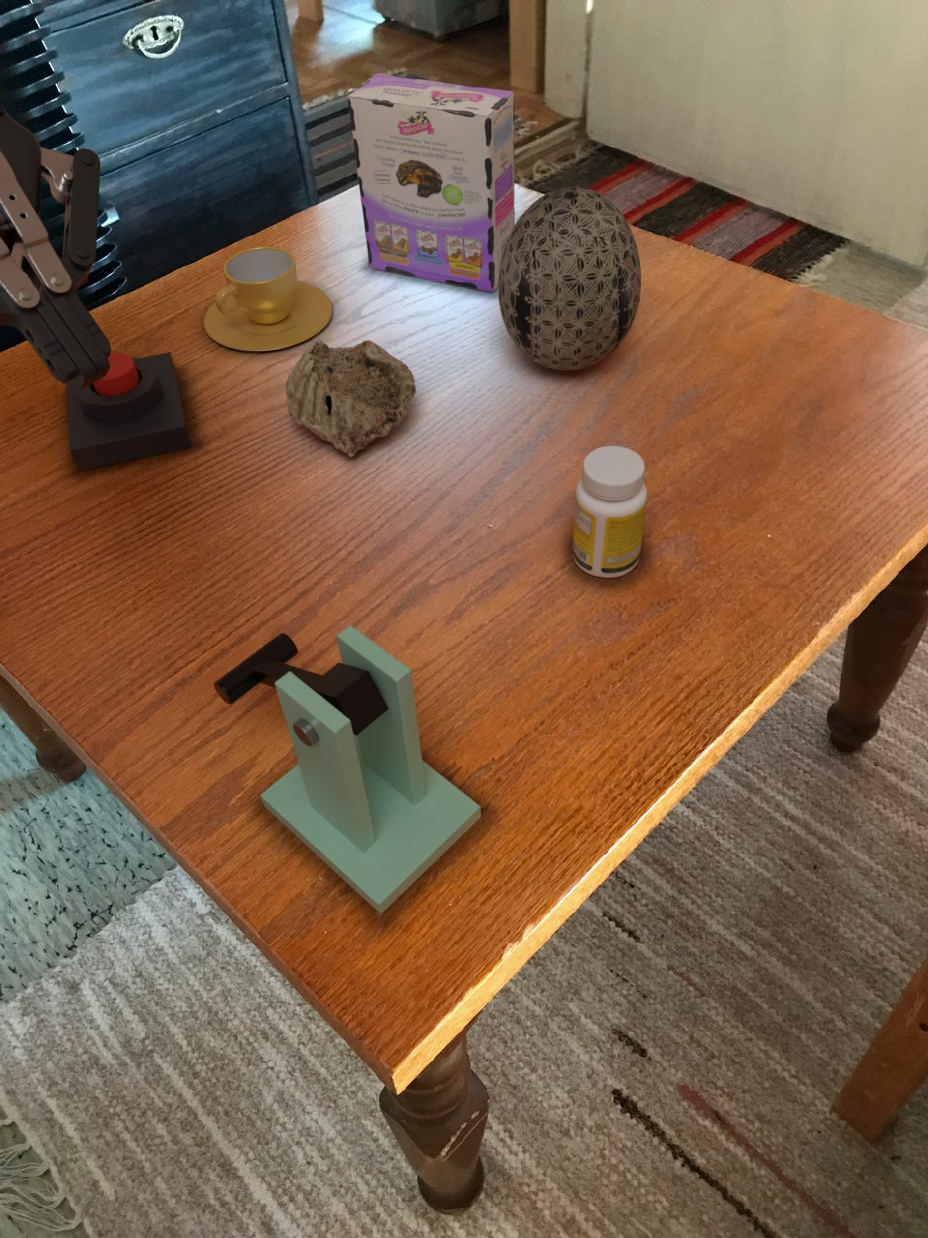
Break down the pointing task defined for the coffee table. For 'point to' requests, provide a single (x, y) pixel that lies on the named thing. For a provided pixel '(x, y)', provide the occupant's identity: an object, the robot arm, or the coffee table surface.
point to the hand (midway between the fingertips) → (95, 377)
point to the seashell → (349, 393)
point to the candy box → (435, 177)
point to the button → (118, 376)
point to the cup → (265, 303)
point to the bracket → (366, 783)
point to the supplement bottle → (609, 512)
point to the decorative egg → (569, 279)
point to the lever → (307, 682)
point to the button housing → (128, 417)
